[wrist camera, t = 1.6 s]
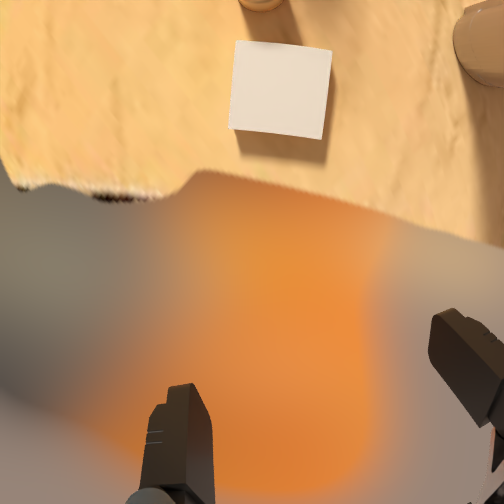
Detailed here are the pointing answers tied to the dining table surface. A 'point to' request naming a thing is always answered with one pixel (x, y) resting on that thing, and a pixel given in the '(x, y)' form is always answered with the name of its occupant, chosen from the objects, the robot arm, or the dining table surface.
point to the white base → (279, 88)
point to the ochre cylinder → (260, 4)
